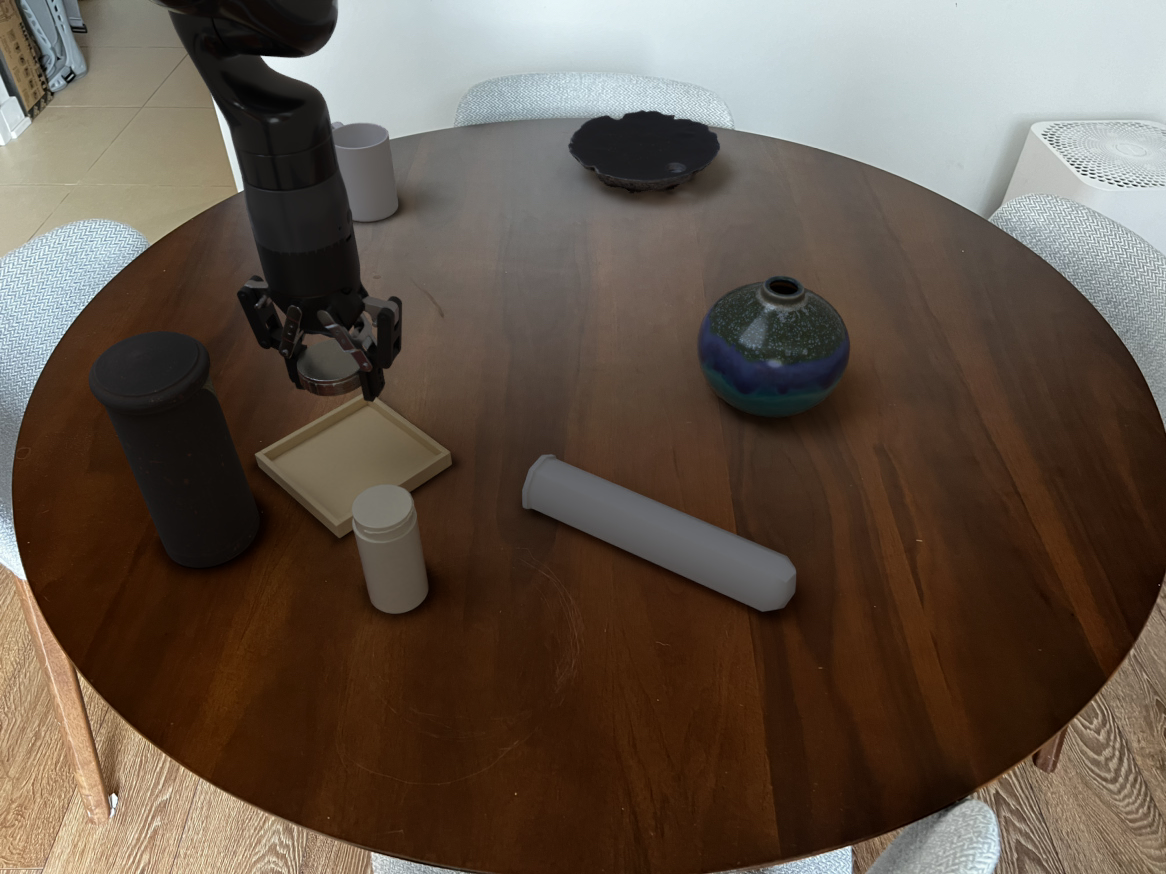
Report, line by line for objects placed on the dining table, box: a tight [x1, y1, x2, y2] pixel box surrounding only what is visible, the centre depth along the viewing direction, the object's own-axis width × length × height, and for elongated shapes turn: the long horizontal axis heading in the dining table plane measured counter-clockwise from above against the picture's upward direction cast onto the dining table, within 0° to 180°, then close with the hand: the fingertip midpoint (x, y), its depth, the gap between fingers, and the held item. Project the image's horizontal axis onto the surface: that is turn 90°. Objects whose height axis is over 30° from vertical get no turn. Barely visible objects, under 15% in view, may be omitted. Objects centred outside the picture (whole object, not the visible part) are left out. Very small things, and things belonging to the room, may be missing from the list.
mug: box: [331, 121, 399, 223], centre depth 123 cm, size 12×8×10 cm, turn 37°
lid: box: [297, 338, 361, 397], centre depth 80 cm, size 6×6×2 cm
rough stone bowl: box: [567, 109, 721, 195], centre depth 132 cm, size 22×22×5 cm
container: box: [88, 330, 261, 569], centre depth 75 cm, size 9×9×20 cm
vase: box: [696, 275, 851, 418], centre depth 93 cm, size 15×15×13 cm
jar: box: [352, 484, 429, 615], centre depth 74 cm, size 5×5×10 cm
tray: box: [254, 393, 453, 539], centre depth 88 cm, size 13×13×2 cm
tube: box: [521, 453, 797, 613], centre depth 79 cm, size 5×5×25 cm
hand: (339, 389), depth 82 cm, fingers closed on lid, 6 cm apart
